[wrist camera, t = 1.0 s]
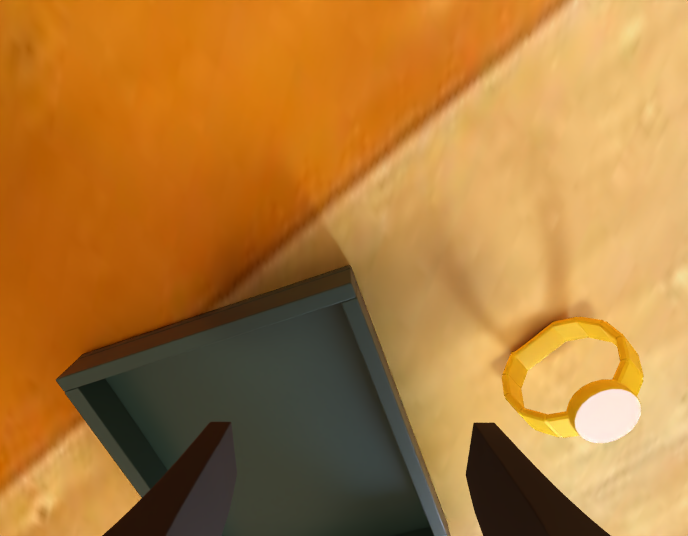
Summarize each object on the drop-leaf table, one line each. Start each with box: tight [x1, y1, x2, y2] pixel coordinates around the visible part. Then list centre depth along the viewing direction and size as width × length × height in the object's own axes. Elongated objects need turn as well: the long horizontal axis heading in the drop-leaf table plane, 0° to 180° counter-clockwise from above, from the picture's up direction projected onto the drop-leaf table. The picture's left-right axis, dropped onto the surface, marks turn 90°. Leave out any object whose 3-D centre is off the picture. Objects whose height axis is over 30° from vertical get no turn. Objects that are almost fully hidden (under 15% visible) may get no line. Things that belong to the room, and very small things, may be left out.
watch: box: [502, 317, 644, 443], centre depth 19 cm, size 6×3×6 cm, turn 133°
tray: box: [56, 265, 450, 536], centre depth 24 cm, size 20×16×2 cm
